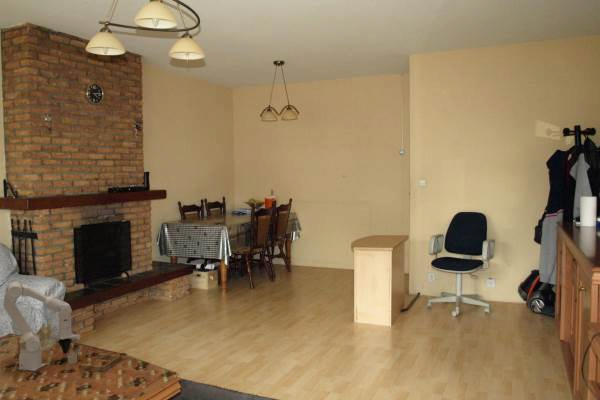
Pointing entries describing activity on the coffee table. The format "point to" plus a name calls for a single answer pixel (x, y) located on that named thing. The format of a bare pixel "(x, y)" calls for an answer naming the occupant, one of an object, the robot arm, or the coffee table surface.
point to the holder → (104, 368)
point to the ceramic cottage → (41, 338)
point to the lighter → (74, 356)
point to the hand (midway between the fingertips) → (65, 352)
